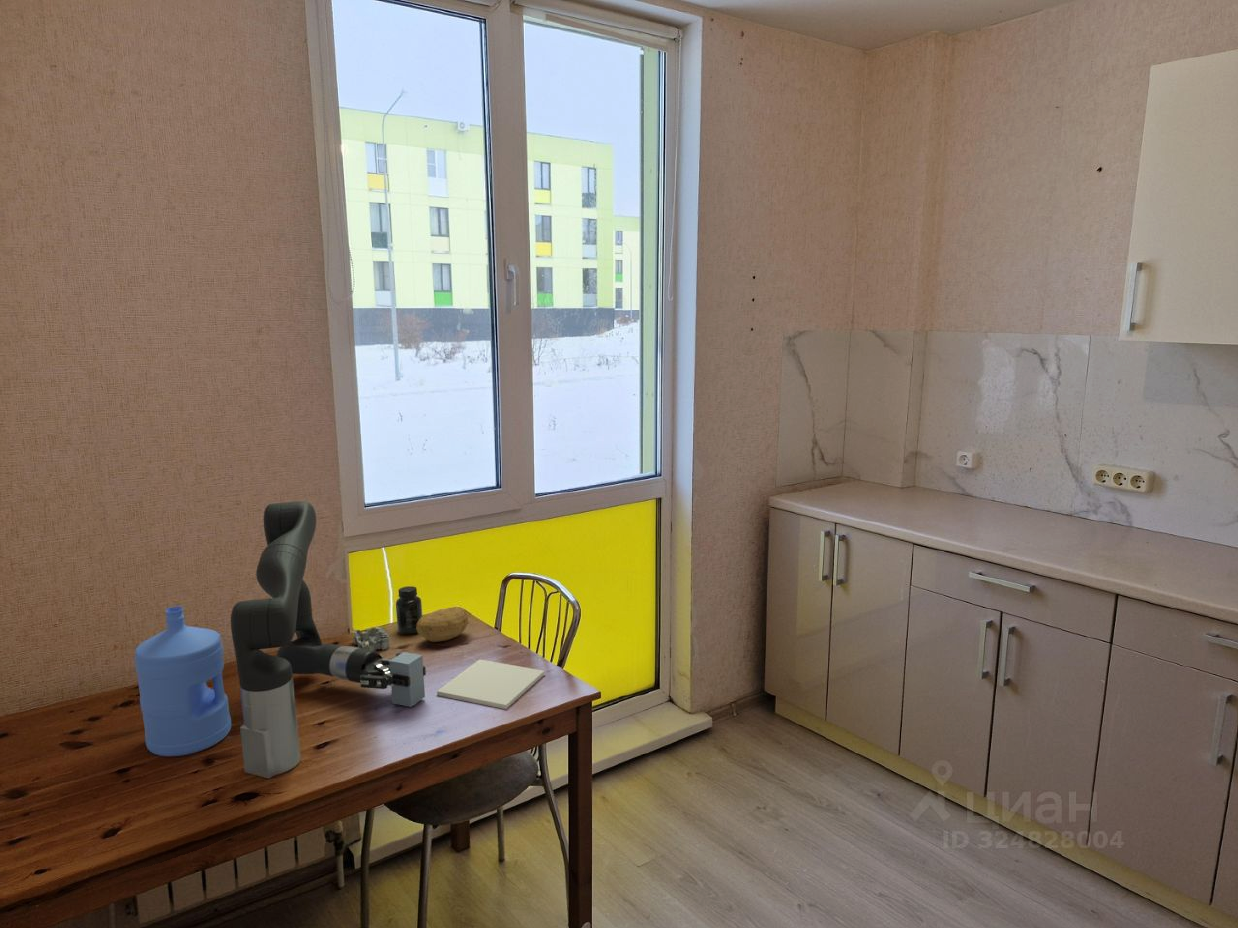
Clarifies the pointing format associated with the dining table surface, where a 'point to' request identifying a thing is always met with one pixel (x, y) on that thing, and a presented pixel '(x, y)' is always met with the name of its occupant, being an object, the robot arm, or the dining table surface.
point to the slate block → (414, 669)
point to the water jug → (182, 688)
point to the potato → (442, 624)
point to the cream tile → (491, 683)
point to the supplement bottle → (408, 610)
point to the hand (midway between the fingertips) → (416, 676)
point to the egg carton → (371, 639)
